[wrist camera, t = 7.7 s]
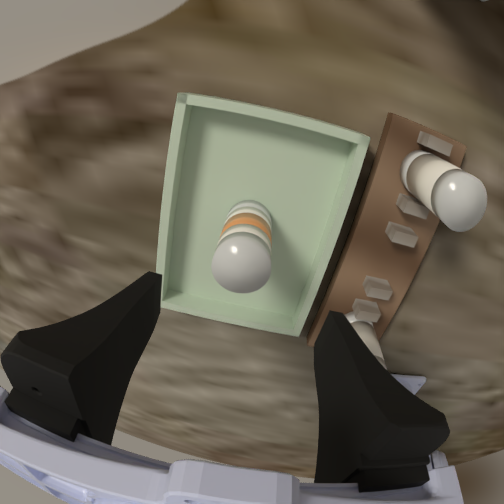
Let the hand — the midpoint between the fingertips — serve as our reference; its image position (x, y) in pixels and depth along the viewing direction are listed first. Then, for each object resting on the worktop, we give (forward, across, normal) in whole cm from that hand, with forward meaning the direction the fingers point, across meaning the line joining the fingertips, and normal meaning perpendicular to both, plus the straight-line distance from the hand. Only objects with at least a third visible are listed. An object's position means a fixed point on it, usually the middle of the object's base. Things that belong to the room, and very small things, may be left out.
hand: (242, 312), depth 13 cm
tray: (+10, 0, 0) cm, 10 cm away
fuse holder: (+10, -10, 0) cm, 14 cm away
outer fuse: (+9, -10, -6) cm, 15 cm away
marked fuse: (+9, 0, 0) cm, 9 cm away
